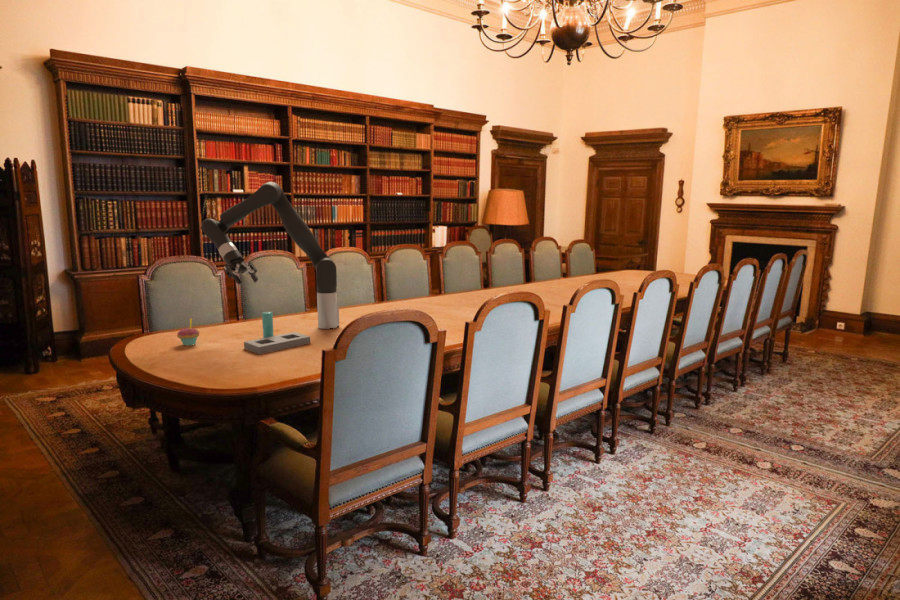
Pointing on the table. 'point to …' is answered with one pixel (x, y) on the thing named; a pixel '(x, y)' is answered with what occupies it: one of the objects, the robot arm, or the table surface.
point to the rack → (276, 342)
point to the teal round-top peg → (267, 324)
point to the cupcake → (188, 335)
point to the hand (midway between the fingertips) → (248, 282)
